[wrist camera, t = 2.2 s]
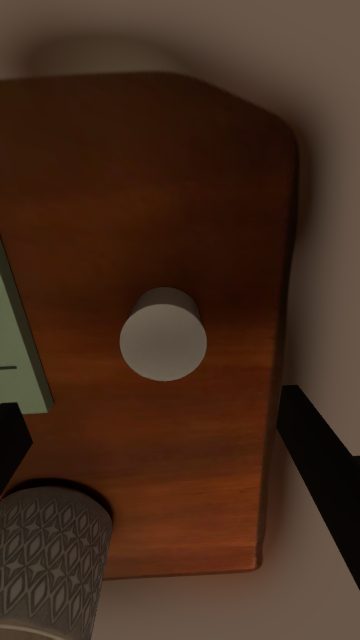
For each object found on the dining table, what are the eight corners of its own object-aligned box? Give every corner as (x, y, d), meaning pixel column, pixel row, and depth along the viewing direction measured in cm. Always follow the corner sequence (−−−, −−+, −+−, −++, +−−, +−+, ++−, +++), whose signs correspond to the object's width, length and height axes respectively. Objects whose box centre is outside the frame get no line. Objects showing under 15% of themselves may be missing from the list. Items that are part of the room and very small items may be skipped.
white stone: (148, 273, 22) (141, 287, 17) (213, 307, 23) (223, 328, 19) (119, 334, 24) (106, 361, 19) (179, 361, 26) (181, 392, 21)
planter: (101, 472, 32) (60, 618, 20) (123, 540, 38) (101, 682, 27) (-19, 482, 32) (-130, 632, 20) (22, 549, 38) (-44, 693, 27)
